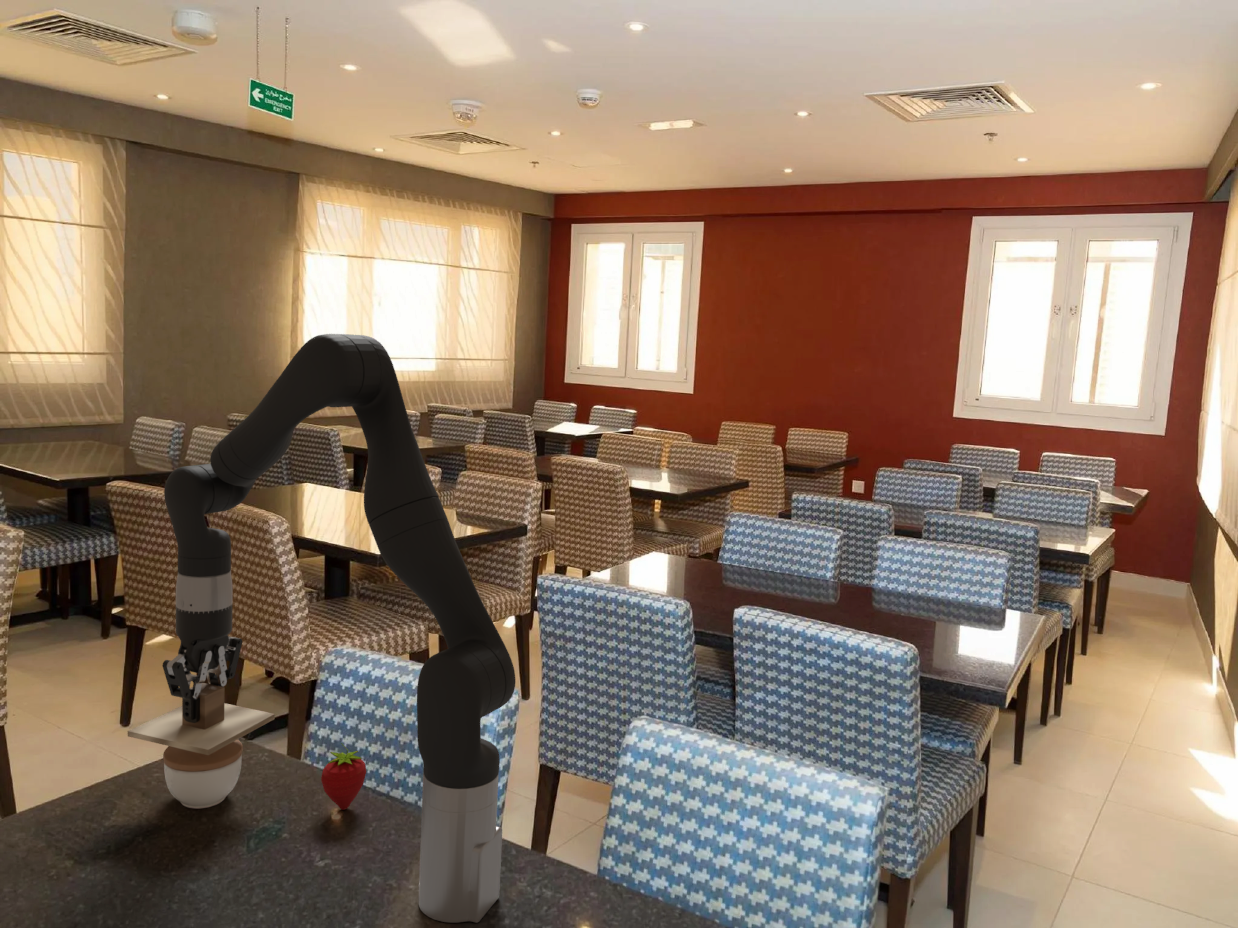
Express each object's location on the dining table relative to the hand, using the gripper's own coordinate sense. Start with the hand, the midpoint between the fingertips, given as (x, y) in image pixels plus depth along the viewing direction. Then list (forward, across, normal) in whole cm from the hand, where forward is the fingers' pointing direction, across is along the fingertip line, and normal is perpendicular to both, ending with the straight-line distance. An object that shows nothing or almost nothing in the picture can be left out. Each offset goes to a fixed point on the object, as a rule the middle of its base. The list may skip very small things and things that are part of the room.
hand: (203, 715), depth 142 cm
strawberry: (+13, +6, -20) cm, 25 cm away
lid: (+2, 0, 0) cm, 2 cm away
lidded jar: (+13, 0, 0) cm, 13 cm away
